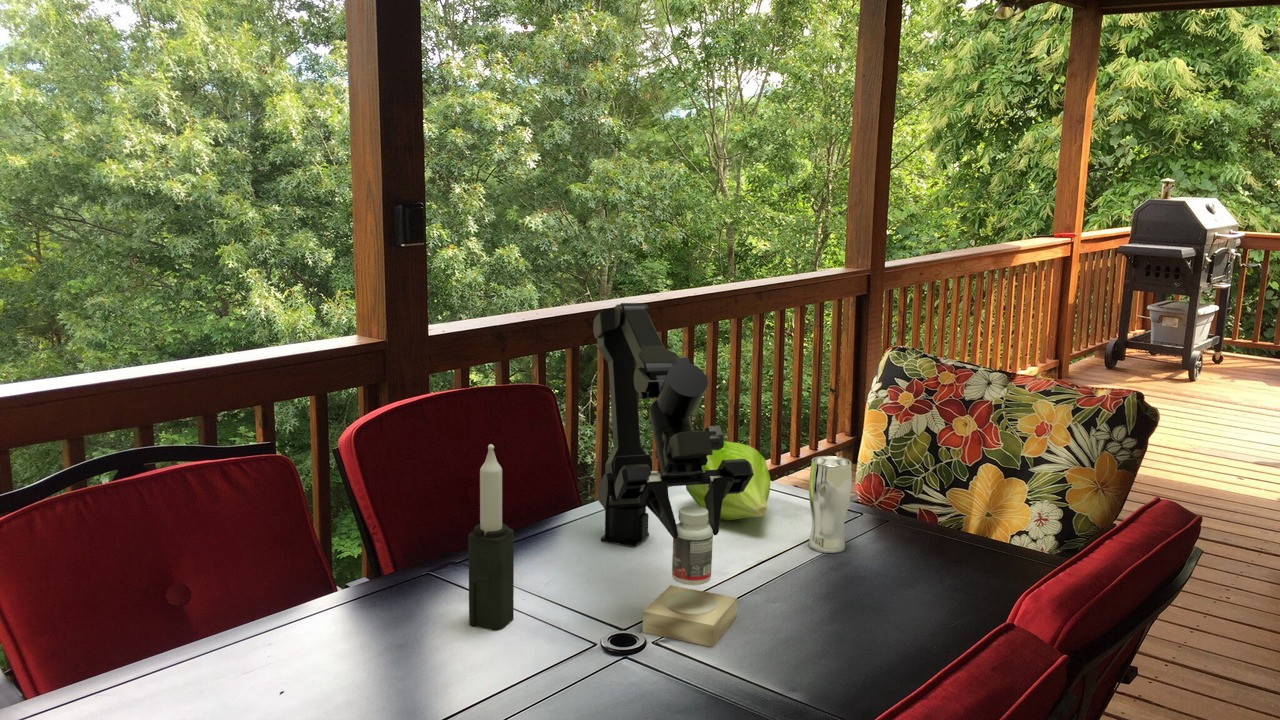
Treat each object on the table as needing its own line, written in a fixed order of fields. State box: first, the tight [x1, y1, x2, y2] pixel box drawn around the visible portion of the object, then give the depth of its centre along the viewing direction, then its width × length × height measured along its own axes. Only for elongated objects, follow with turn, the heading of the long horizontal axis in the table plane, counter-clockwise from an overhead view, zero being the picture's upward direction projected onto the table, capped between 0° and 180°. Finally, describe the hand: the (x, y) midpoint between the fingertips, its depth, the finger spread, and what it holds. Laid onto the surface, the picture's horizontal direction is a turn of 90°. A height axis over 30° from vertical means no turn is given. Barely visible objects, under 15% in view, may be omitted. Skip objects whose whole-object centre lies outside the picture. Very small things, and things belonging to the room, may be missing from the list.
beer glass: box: [808, 455, 853, 554], centre depth 167 cm, size 7×7×15 cm
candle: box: [467, 443, 515, 631], centre depth 135 cm, size 5×5×25 cm
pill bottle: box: [671, 505, 714, 586], centre depth 135 cm, size 5×5×10 cm
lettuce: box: [685, 440, 771, 521], centre depth 181 cm, size 15×22×15 cm
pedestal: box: [642, 584, 738, 648], centre depth 137 cm, size 10×10×3 cm
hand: (696, 535), depth 134 cm, fingers closed on pill bottle, 5 cm apart
